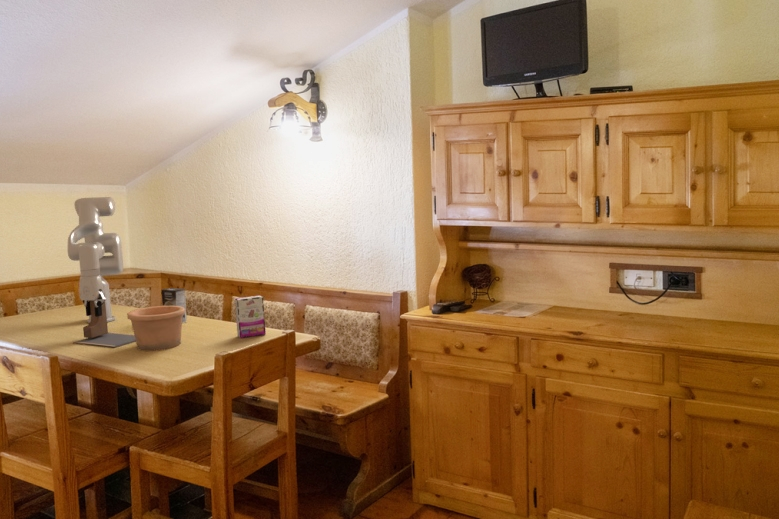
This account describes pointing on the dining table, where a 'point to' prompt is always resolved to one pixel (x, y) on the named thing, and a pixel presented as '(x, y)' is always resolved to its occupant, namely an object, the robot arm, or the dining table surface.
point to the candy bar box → (250, 316)
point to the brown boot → (96, 323)
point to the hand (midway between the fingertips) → (94, 315)
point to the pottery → (157, 327)
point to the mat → (109, 340)
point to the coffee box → (174, 299)
